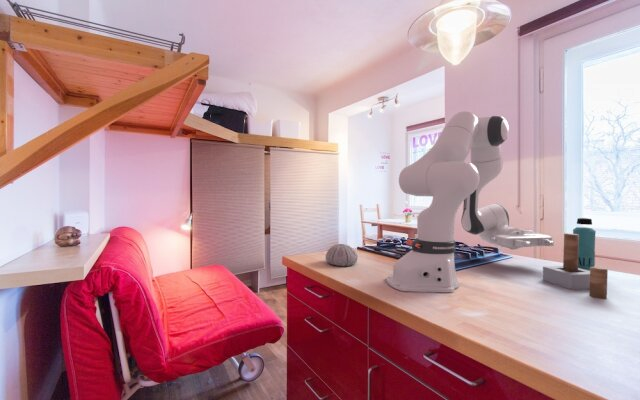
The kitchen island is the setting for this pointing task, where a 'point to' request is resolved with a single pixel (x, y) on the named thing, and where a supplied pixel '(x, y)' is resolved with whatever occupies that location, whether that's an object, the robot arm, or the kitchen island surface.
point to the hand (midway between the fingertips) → (540, 244)
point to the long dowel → (571, 252)
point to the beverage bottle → (585, 244)
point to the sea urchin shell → (341, 255)
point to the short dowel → (598, 282)
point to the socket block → (567, 277)
